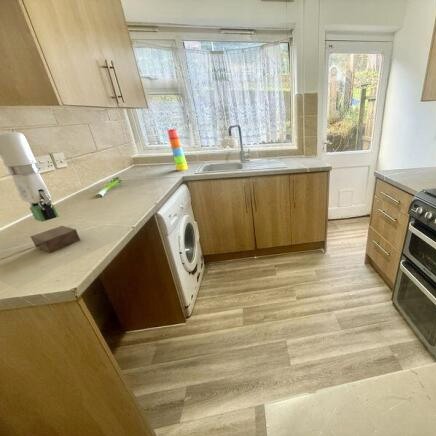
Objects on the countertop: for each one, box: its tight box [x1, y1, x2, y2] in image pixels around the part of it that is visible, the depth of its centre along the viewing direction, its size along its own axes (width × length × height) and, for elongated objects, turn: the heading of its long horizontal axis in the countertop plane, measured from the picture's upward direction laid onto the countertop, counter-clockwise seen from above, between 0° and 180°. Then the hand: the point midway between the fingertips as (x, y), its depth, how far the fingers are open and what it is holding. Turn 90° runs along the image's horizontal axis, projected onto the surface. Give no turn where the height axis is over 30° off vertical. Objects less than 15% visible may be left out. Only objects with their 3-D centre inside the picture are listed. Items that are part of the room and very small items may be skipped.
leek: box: [95, 176, 123, 198], centre depth 164 cm, size 6×7×30 cm
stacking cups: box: [167, 128, 188, 171], centre depth 209 cm, size 10×10×35 cm
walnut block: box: [29, 225, 81, 254], centre depth 95 cm, size 10×10×5 cm
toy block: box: [29, 203, 60, 223], centre depth 91 cm, size 5×5×5 cm
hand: (46, 217), depth 92 cm, fingers closed on toy block, 5 cm apart
